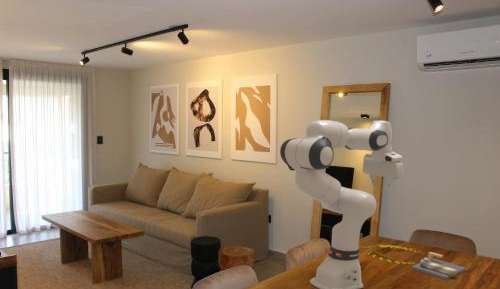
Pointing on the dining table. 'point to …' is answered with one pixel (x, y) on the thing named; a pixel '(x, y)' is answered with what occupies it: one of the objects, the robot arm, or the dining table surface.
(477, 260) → the dining table surface
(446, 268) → the link
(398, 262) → the decorative wreath
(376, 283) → the dining table surface
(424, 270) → the pintle board
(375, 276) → the dining table surface
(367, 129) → the robot arm
